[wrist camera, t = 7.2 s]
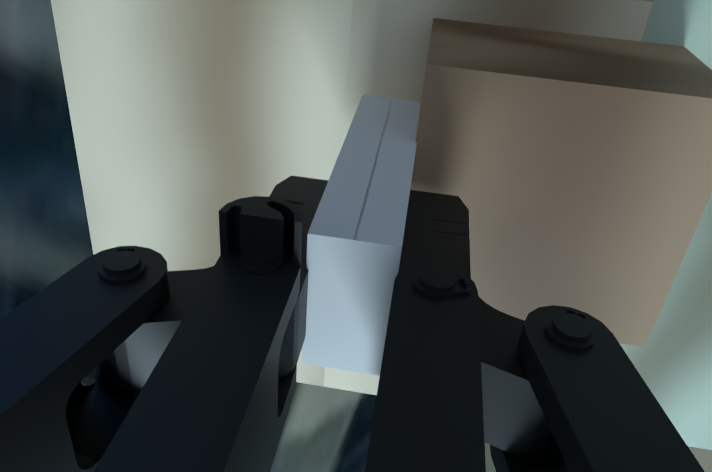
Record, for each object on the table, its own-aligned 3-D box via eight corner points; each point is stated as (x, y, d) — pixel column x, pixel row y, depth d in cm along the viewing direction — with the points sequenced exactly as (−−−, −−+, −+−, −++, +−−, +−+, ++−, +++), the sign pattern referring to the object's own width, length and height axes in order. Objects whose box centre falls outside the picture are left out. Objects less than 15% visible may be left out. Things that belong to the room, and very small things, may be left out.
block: (404, 226, 19) (391, 309, 15) (433, 17, 15) (425, 63, 12) (610, 255, 18) (645, 347, 15) (684, 46, 15) (749, 103, 12)
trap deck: (139, 309, 25) (66, 412, 21) (52, -362, 15) (-138, -463, 10) (701, 398, 24) (761, 532, 19) (1064, -286, 13) (1401, -363, 8)
